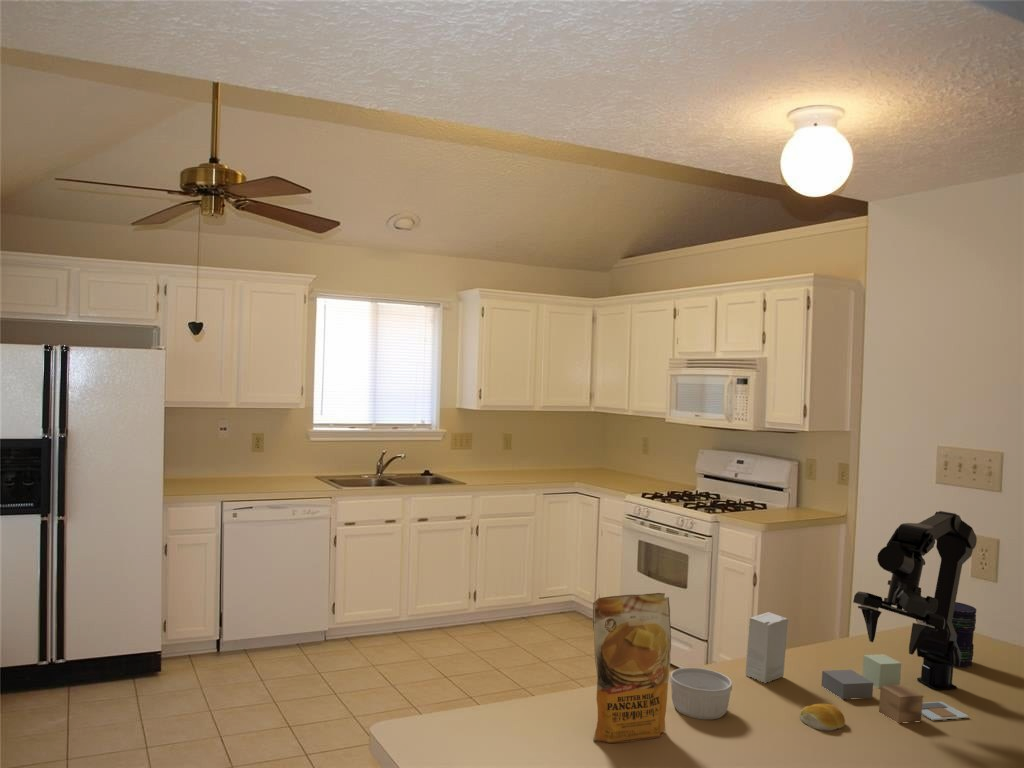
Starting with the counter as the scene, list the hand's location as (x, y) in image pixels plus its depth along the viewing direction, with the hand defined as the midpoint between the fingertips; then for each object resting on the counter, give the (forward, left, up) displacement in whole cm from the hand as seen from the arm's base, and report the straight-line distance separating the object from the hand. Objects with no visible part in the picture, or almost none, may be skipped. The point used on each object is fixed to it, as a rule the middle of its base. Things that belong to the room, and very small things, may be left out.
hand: (891, 648), depth 184 cm
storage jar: (-43, -26, -15) cm, 53 cm away
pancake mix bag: (+64, +2, -15) cm, 66 cm away
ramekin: (+43, -7, -15) cm, 46 cm away
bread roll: (+19, +3, -15) cm, 24 cm away
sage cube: (-11, -15, -15) cm, 24 cm away
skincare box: (+17, -22, -15) cm, 31 cm away
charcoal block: (+2, -11, -15) cm, 19 cm away
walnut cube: (-1, +3, -15) cm, 15 cm away
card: (-12, +2, -14) cm, 19 cm away
